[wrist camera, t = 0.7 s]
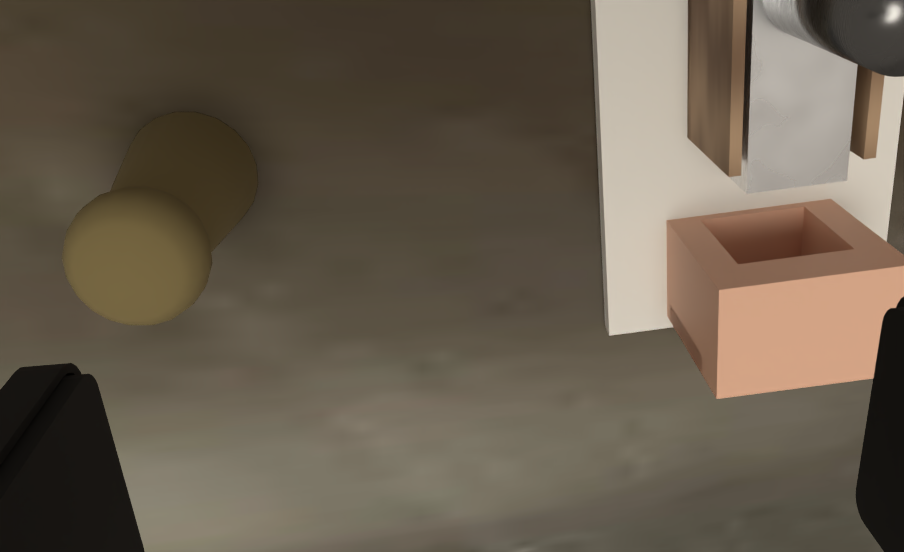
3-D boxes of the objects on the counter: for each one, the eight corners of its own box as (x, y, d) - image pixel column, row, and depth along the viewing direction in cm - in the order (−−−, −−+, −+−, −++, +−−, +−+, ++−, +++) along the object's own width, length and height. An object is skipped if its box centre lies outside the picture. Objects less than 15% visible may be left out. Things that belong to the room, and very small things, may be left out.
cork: (108, 122, 39) (9, 211, 29) (240, 101, 39) (186, 184, 29) (147, 243, 41) (69, 362, 32) (271, 224, 41) (232, 338, 31)
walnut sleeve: (688, -97, 35) (735, -90, 30) (832, -116, 35) (904, -112, 30) (687, 137, 40) (728, 177, 35) (815, 121, 40) (876, 157, 35)
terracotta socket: (666, 220, 41) (719, 290, 35) (830, 198, 41) (915, 264, 35) (667, 316, 44) (716, 399, 37) (823, 295, 44) (900, 374, 37)
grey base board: (586, -86, 36) (591, -84, 35) (916, -129, 36) (929, -129, 35) (605, 326, 45) (609, 335, 44) (870, 291, 45) (879, 299, 44)
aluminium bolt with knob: (716, -72, 35) (847, -45, 25) (818, -86, 35) (990, -64, 25) (712, 161, 39) (821, 265, 29) (803, 150, 39) (944, 249, 29)
